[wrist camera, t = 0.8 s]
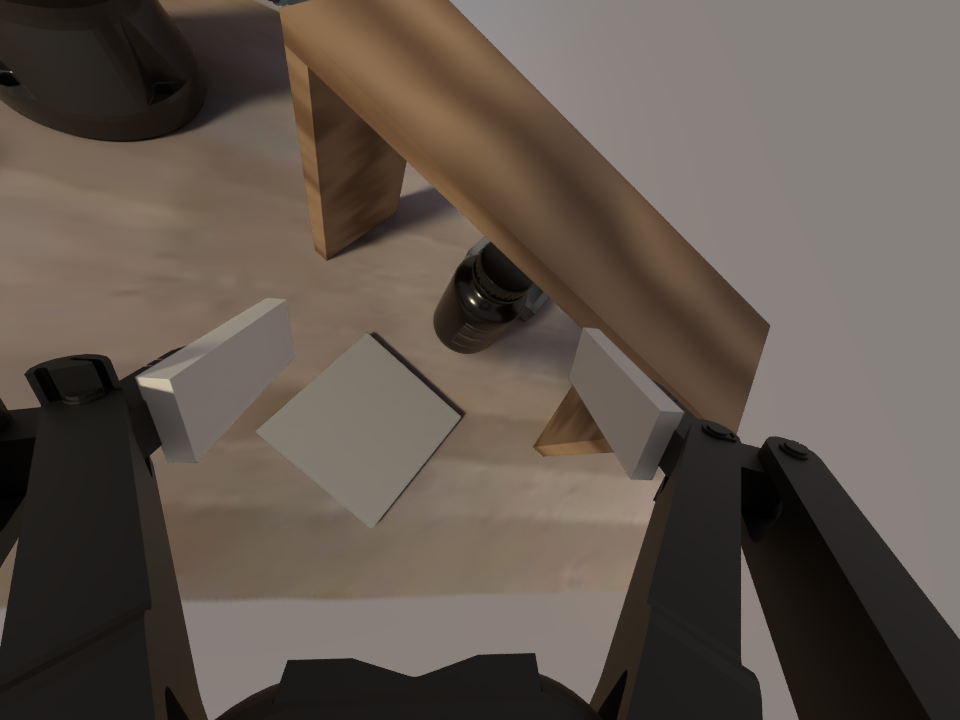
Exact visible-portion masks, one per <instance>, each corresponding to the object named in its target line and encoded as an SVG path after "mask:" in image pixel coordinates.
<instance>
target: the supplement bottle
mask: <svg viewBox="0 0 960 720" xmlns="http://www.w3.org/2000/svg"><path fill="white" fill-rule="evenodd" d="M533 284H534V282H533V281H532V280H531V279H530V278H529V277H528V276H527V275H526V274H525V273H524V272H522V271H521V270H520V269H519V268H518V267H517V266H516V265H515V264H514V263H513V262H512V261H511V260H510V259H509V258H508V257H507V256H506V255H505V254H504V253H503V252H502V251H500V250H499V249H498V248H497V247H496V246H495V245H494V244H493V243H492V242H491V241H490V242H489V243H488V244H486V245H485V247H484V248H483V249H482V250H481V252H480V253H479V254H476V255H473V256H470V257H468V258H467V259H465V260H464V261H463V262H462V263H461V264H460V265H459V267H458V268H457V270H456V271H455V273H454V275H453V277H452V279H451V281H450V283H449V285H448V287H447V288H446V290H445V292H444V294H443V296H442V298H441V300H440V302H439V304H438V306H437V308H436V310H435V313H434V319H433V322H434V329H435V332H436V334H437V336H438V338H439V339H440V340H441V342H442V343H443V344H444V345H445V346H447V347H448V348H449V349H451V350H453V351H455V352H458V353H462V354H472V353H476V352H479V351H481V350H483V349H484V348H486V347H487V346H488V345H489V344H490V343H491V342H492V341H493V340H495V339H496V338H497V337H498V336H499V335H500V334H501V333H502V332H503V331H504V330H505V329H506V328H507V327H509V326H510V325H511V324H512V323H513V322H514V321H515V320H516V319H517V318H518V317H519V316H520V315H521V313H522V312H523V310H524V308H525V305H526V302H527V291H528V290H529V289H530V288H531V287H532V285H533Z"/></svg>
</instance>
